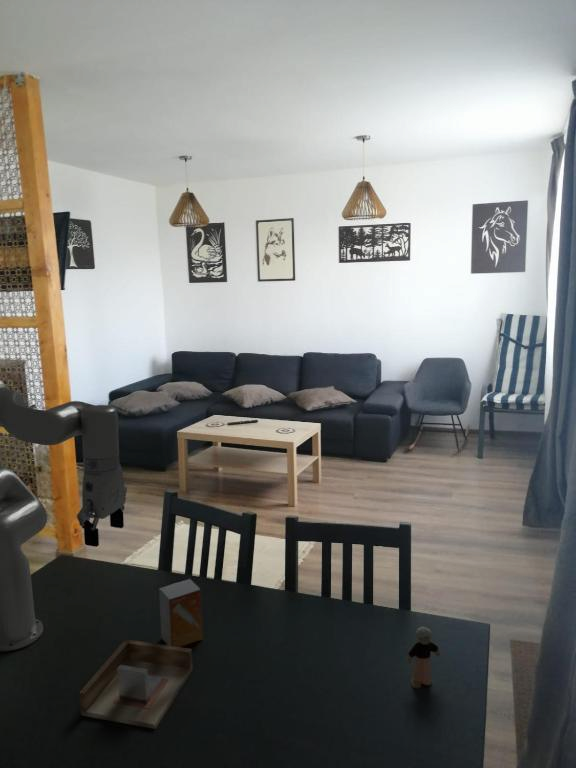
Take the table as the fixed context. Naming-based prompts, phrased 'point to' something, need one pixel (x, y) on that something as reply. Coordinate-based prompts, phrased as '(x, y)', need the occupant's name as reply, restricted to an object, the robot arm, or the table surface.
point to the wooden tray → (159, 662)
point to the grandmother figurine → (422, 657)
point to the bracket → (136, 684)
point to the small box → (181, 613)
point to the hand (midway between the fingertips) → (104, 535)
